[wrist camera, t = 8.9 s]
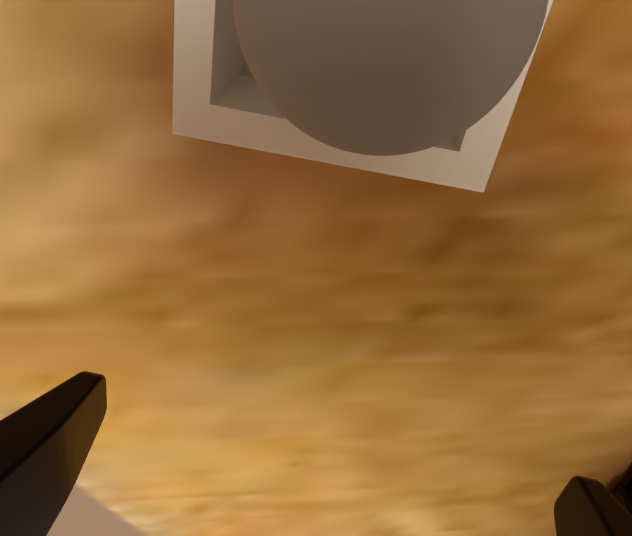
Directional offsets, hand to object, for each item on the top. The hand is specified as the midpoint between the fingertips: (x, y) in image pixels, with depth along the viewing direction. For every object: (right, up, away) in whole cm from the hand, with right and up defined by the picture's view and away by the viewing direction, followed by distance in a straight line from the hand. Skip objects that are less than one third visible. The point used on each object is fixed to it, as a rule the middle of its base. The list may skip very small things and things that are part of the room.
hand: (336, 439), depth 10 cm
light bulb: (+1, +12, +6) cm, 13 cm away
